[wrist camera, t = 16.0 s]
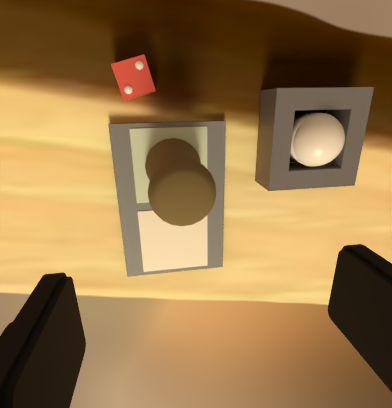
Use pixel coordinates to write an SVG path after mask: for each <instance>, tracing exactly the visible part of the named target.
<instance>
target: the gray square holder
mask: <svg viewBox="0 0 392 408" xmlns="http://www.w3.org/2000/svg"><path fill="white" fill-rule="evenodd" d="M373 89H374V87H336V88H274V89H267V90H261V97H260V113H259V129H258V145H257V161H256V177H255V181H256V182H257V183H259V184H260V185H261V186H263V187H264V188H265V189H267V190H268V191H276V190H291V189H306V188H322V187H337V186H353V185H355V180H356V175H357V170H358V165H359V160H360V155H361V150H362V145H363V140H364V135H365V130H366V125H367V120H368V114H369V109H370V104H371V99H372V94H373ZM295 110H327V113H326V114H330V115H332V116H333V117H335V118H336V119H337V120H338V121H339V122H340V123H341V125H342V126H343V129H344V133H345V142H344V146H343V148H342V150H341V152H340V153H339V154H338V156H337V157H336V158H335V159H333V160H332V161H331V162H329V163H327V164H324V165H321V166H314V167H311V166H306V165H304V164H301V163H298V162H296V163H289V162H290V153H291V143H292V134H293V124H294V115H295Z"/></svg>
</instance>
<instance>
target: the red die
mask: <svg viewBox="0 0 392 408" xmlns="http://www.w3.org/2000/svg"><path fill="white" fill-rule="evenodd" d="M111 66H112V69H113V72H114V74H115V77H116V80H117V83H118V85H119V88H120V91H121V94H122V97H123V99H124V100H125V101H128V100H131V99H134V98H137V97H141V96H144V95H147V94H151V93H154V92H155V91H156V90H155V87H154V84H153V80H152V77H151V74H150V71H149V68H148V64H147V61H146V58H145V55H144V54H143V55H140V56H137V57H133V58H130V59H127V60H123V61H120V62H117V63H113V64H111Z"/></svg>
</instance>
